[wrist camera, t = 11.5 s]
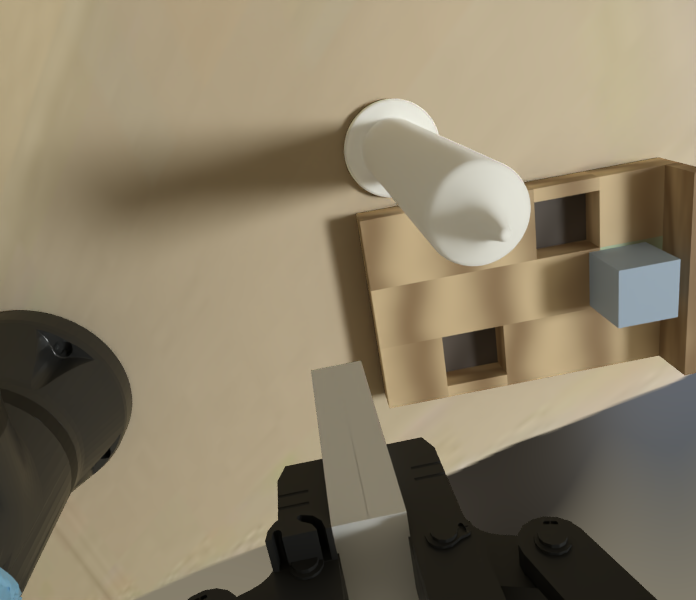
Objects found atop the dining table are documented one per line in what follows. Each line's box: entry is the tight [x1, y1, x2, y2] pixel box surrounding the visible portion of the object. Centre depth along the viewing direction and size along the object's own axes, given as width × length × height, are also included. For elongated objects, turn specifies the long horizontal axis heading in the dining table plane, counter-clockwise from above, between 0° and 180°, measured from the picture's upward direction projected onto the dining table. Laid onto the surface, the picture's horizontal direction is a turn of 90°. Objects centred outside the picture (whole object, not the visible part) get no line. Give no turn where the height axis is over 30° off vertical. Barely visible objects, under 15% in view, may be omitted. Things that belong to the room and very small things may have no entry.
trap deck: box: [356, 158, 696, 408], centre depth 47 cm, size 24×16×6 cm, turn 99°
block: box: [589, 242, 681, 328], centre depth 46 cm, size 4×4×4 cm
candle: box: [344, 98, 531, 266], centre depth 34 cm, size 7×7×25 cm
